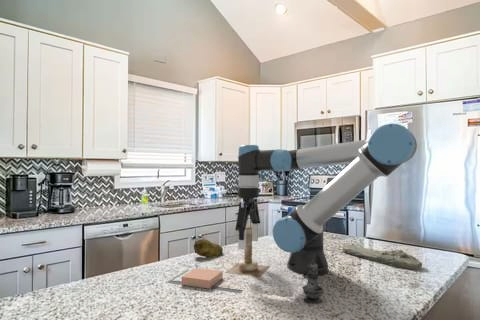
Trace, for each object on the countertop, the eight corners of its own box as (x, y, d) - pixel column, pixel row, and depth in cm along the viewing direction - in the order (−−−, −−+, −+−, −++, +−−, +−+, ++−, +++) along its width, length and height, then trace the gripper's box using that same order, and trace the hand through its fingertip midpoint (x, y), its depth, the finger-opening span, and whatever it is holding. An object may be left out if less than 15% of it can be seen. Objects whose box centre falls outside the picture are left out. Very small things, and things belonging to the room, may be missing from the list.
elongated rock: (351, 252, 159) (337, 256, 153) (350, 241, 159) (336, 245, 153) (427, 266, 130) (414, 273, 124) (426, 253, 130) (413, 258, 125)
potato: (225, 259, 141) (225, 240, 141) (194, 261, 138) (194, 241, 138) (221, 254, 149) (221, 236, 150) (192, 256, 146) (192, 237, 146)
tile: (222, 271, 115) (209, 280, 105) (222, 279, 115) (209, 289, 105) (196, 267, 118) (181, 276, 109) (196, 275, 118) (181, 285, 109)
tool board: (270, 268, 128) (270, 266, 128) (260, 279, 116) (260, 276, 116) (238, 265, 133) (238, 262, 133) (225, 275, 121) (225, 272, 121)
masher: (260, 267, 127) (260, 226, 127) (254, 273, 120) (254, 229, 120) (242, 265, 129) (242, 224, 129) (235, 271, 123) (236, 228, 123)
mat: (254, 280, 115) (254, 278, 115) (240, 295, 102) (240, 293, 102) (187, 272, 124) (187, 270, 124) (166, 284, 111) (166, 282, 111)
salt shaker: (300, 297, 101) (300, 256, 102) (319, 296, 102) (319, 256, 102) (305, 305, 96) (305, 262, 96) (326, 304, 96) (325, 262, 96)
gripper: (249, 184, 138) (249, 237, 138) (226, 188, 115) (226, 251, 114) (267, 185, 135) (267, 238, 135) (247, 189, 112) (247, 253, 112)
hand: (248, 244), depth 125 cm, fingers open, 13 cm apart
